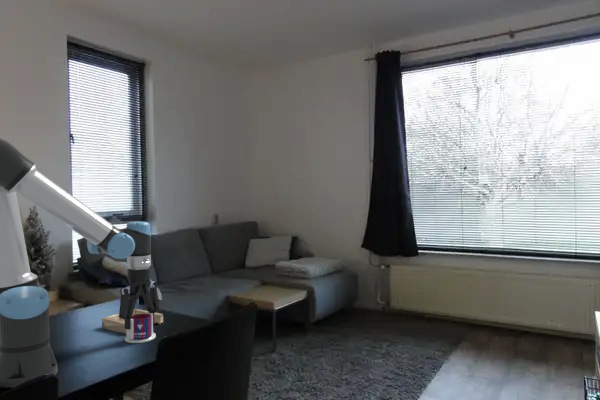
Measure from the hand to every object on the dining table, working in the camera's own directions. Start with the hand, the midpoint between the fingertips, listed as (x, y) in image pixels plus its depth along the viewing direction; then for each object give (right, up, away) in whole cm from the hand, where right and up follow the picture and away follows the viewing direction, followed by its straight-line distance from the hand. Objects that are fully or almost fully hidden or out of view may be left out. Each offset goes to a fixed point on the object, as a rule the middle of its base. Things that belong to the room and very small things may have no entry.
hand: (140, 334), depth 152 cm
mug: (0, -1, +1) cm, 1 cm away
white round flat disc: (0, -1, 0) cm, 1 cm away
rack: (-8, -1, +14) cm, 16 cm away
